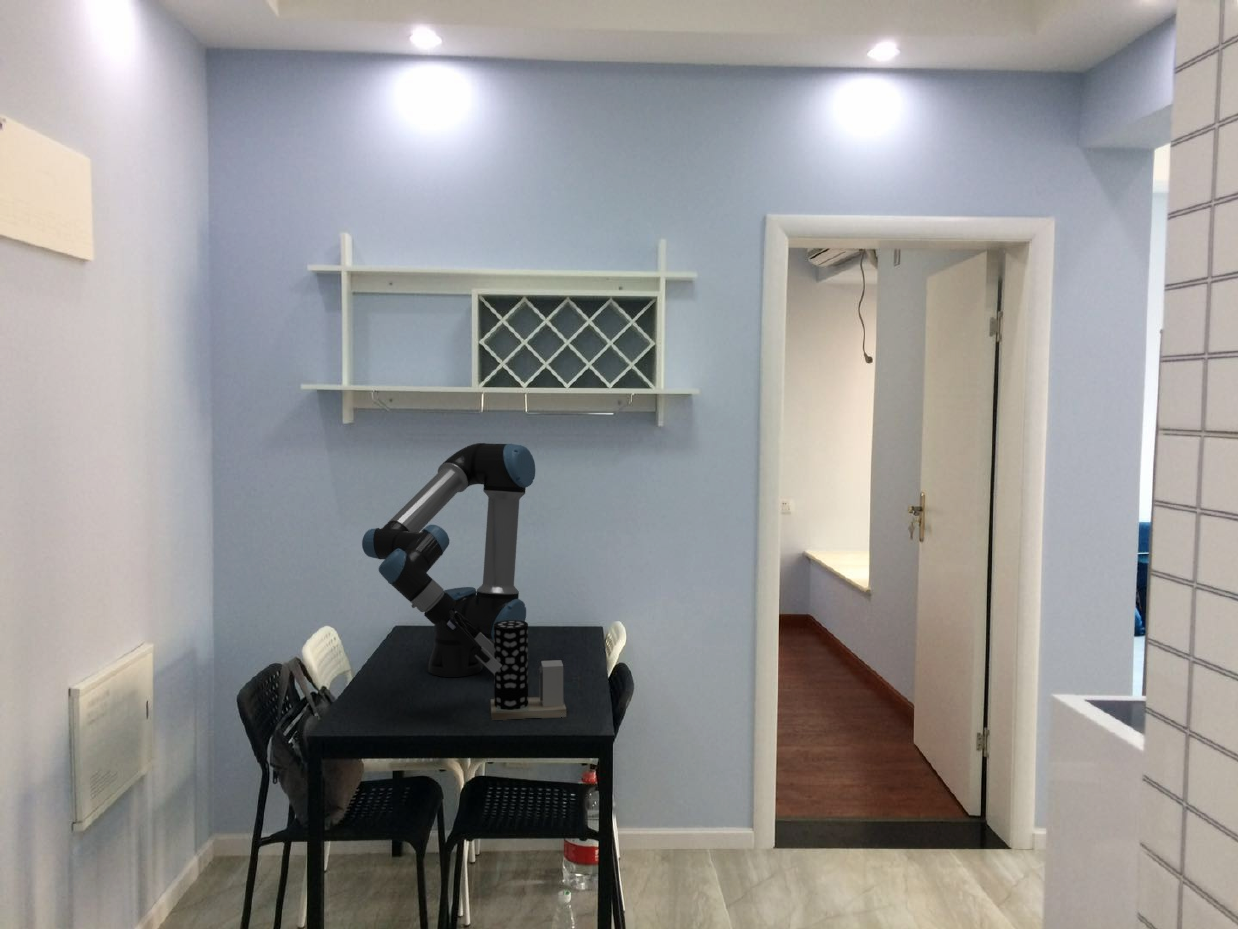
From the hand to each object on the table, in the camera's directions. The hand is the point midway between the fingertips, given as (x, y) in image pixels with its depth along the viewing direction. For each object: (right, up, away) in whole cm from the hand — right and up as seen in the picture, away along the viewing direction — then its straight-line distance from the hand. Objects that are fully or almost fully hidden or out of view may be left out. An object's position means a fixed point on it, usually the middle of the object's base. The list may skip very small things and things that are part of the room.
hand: (496, 661), depth 226 cm
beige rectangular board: (+7, -13, +3) cm, 15 cm away
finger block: (+13, -11, +3) cm, 18 cm away
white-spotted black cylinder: (+3, -11, +2) cm, 12 cm away
